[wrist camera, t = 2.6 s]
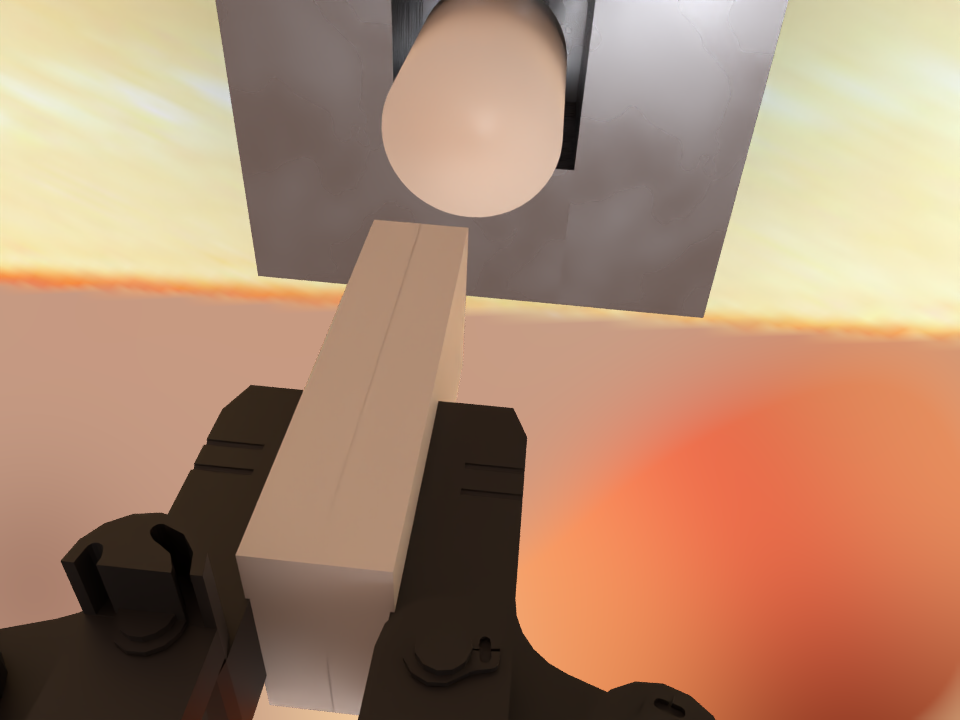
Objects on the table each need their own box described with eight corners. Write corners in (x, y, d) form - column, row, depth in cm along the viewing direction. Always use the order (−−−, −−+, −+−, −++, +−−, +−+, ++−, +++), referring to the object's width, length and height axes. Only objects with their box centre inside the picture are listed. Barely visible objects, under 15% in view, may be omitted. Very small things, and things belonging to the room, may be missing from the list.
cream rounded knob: (418, -26, 20) (378, 35, 17) (575, -15, 20) (572, 50, 16) (418, 125, 23) (384, 209, 19) (559, 136, 23) (553, 224, 19)
